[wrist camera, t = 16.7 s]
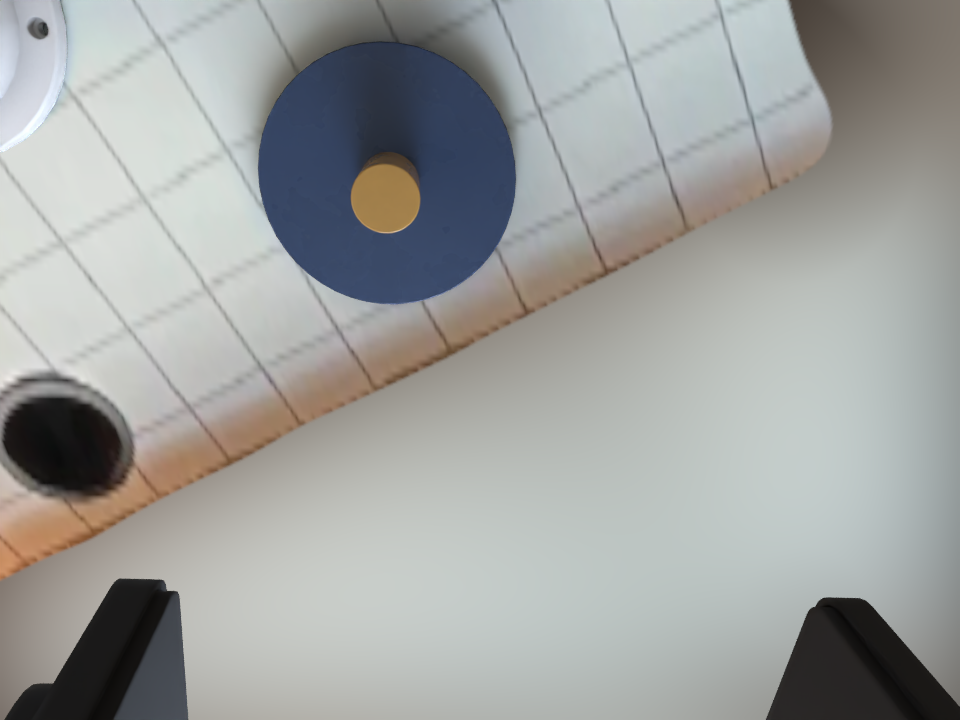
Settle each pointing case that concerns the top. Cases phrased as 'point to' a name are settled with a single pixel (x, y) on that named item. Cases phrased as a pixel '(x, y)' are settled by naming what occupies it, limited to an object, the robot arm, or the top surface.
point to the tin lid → (386, 172)
